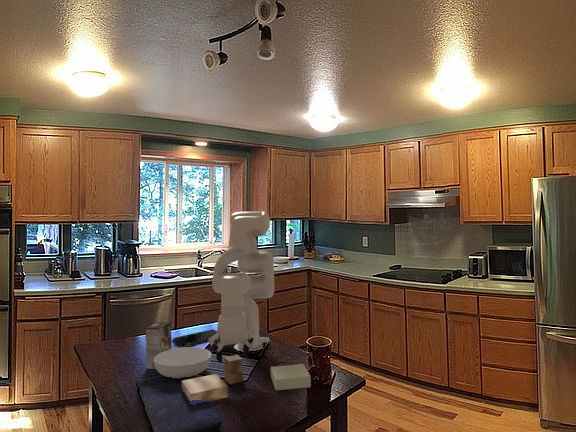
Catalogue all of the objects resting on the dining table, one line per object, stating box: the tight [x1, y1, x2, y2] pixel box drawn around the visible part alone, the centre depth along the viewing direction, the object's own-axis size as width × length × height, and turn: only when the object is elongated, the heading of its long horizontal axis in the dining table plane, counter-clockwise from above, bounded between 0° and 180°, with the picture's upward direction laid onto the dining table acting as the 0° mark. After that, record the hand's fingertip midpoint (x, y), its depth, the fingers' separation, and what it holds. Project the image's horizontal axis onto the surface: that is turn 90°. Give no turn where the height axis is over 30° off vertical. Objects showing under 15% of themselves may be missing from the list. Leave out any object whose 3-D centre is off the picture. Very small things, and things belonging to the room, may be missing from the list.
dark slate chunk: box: [171, 329, 217, 347], centre depth 198 cm, size 15×22×5 cm
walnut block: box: [223, 354, 244, 385], centre depth 148 cm, size 5×5×8 cm
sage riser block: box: [270, 363, 312, 391], centre depth 146 cm, size 12×12×4 cm
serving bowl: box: [153, 346, 212, 379], centre depth 155 cm, size 21×21×7 cm
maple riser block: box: [181, 373, 229, 402], centre depth 137 cm, size 12×12×4 cm
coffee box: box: [144, 321, 173, 370], centre depth 165 cm, size 9×6×16 cm
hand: (233, 359), depth 147 cm, fingers open, 9 cm apart
